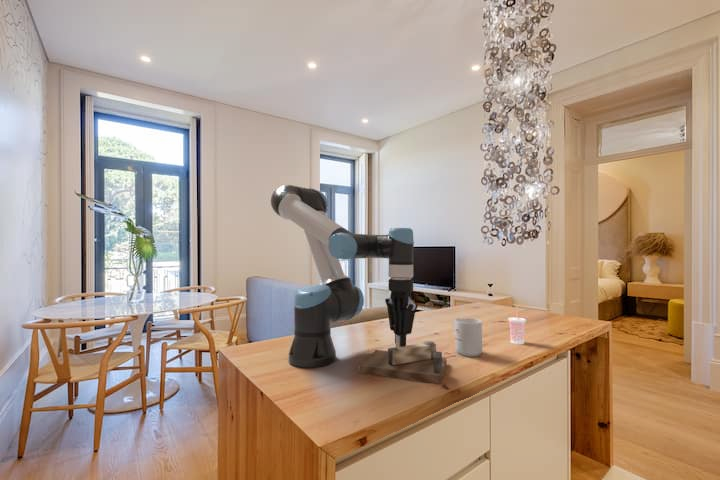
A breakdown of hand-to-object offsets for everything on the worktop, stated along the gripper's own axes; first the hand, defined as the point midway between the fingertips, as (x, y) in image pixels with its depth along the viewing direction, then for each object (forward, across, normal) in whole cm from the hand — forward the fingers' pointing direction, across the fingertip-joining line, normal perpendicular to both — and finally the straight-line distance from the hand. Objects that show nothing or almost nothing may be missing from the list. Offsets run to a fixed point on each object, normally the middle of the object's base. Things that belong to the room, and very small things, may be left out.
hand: (400, 355), depth 101 cm
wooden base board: (+3, -2, 0) cm, 4 cm away
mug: (+3, -1, -28) cm, 29 cm away
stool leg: (+1, -3, -2) cm, 4 cm away
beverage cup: (+3, -4, -54) cm, 55 cm away
